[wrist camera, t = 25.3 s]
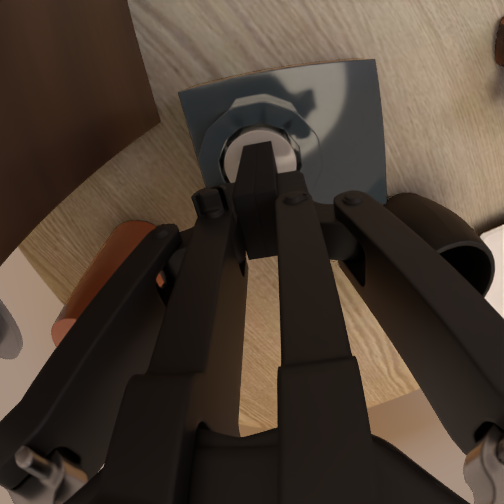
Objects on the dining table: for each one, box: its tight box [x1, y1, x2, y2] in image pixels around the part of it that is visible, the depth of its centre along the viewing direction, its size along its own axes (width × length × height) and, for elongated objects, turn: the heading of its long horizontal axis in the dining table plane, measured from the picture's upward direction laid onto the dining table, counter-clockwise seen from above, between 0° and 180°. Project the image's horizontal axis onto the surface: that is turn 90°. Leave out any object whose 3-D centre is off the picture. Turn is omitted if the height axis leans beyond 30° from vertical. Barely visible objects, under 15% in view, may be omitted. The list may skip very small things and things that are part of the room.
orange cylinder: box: [51, 221, 164, 347], centre depth 24 cm, size 7×7×12 cm
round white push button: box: [224, 123, 297, 183], centre depth 18 cm, size 4×4×2 cm
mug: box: [383, 193, 495, 298], centre depth 23 cm, size 8×12×10 cm
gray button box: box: [178, 58, 387, 204], centre depth 19 cm, size 12×10×6 cm
